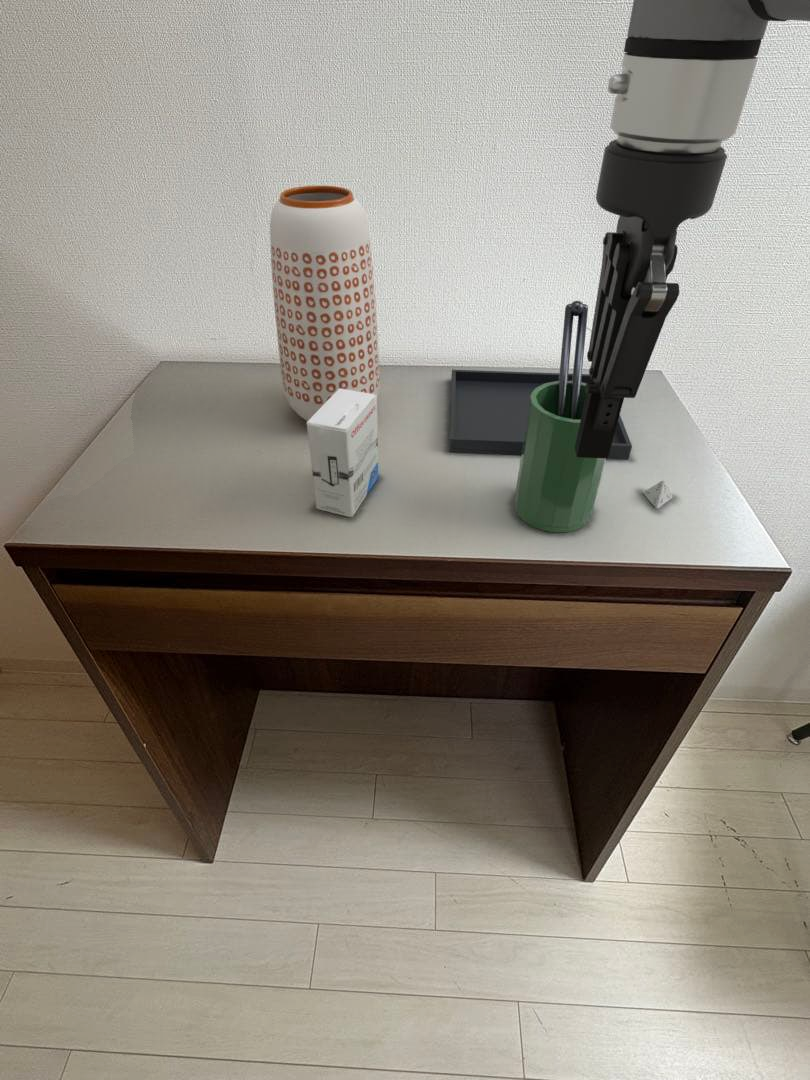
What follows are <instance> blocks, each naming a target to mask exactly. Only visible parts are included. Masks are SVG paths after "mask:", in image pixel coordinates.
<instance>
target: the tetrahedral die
mask: <svg viewBox="0 0 810 1080" xmlns="http://www.w3.org/2000/svg"><path fill="white" fill-rule="evenodd" d="M642 494H643V495H644V496H645V497H646V499H648V501H649V502H650V503H651V504H652V505H653V507H654V508H655V509H656V510H658V509H660V508H661V507H662V506H664V505H665V504H667V502H669V501H670V500H672V499H673V495H672V493H671V491H670V489H669V487H668V485H667V483H666V481H665V480H664V479H663V480H662V481H660V482H658V483H656V484H654V485H653V486H651V487H649V488H647V489H645V490H643V491H642Z"/></svg>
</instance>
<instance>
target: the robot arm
mask: <svg viewBox="0 0 810 1080" xmlns="http://www.w3.org/2000/svg"><path fill="white" fill-rule="evenodd" d="M788 21H801V22H802V21H803V22H810V0H633V1H632V7H631V12H630V19H629V24H628V29H627V35H626V38H625V42H624V47H623V48H624V49H623V53H624V54H623V58H622V62H621V73H618V74H613V75H611V77H610V78H609V79H608V85H607V91H608V92H609V94H612V95H616V96H615V98H614V102H613V103H614V104H613V107H612V108H613V109H612V114H611V119H610V124H609V128H610V129H611V130H612V132H613V133H614V134H615V135H617V137H616V139H614V140H611V141H610V142H609V143H608V145H607V146H605V147H604V151H603V156H602V161H601V168H600V172H599V178H598V182H597V188H596V194H595V201H596V203H597V205H598V206H599V207H600V208H601V209H603V210H604V211H606V212H608V213H610V214H613V215H616V216H619V217H618V220H617V224H616V231H615V232H614V231H613V232H612V231H607V232H605V234H604V237H603V239H602V245H603V247H602V248H603V249H602V257H601V258H602V259H601V268H600V274H599V281H598V288H597V294H596V301H595V306H594V314H593V320H592V326H591V332H590V337H589V340H590V341H589V345H588V351H587V352H586V358H587V362H589V363H590V362H591V364H590V367H589V370H588V374H590V378H591V379H594V381H593V382H586V393H587V394H586V399H585V403H584V408H583V412H582V417H581V421H580V426H579V430H578V435H577V439H576V444H575V452H576V456H577V457H582V458H606V460H607V459H609V458H608V456H609V453H610V449H611V445H612V441H613V438H614V434H615V430H616V426H617V423H618V419H619V415H620V416H621V411H622V408H623V403H624V400H625V399H635V398H636V396H637V394H638V391H639V388H640V386H641V383H642V380H643V379H644V376H645V372H646V370H647V368H648V365H649V362H650V360H651V357H652V355H653V352H654V349H655V347H656V344H657V342H658V339H659V337H660V334H661V331H662V329H663V326H664V324H665V322H666V319H667V317H668V315H669V313H670V312H671V310H672V308H673V307H674V305H675V304H676V302H677V300H678V298H679V296H680V284H679V283H678V282H667V278H668V276H669V274H671V273H672V271H673V270H674V267H675V263H676V260H677V255H678V245H677V244H676V241H677V235H678V228H679V226H680V225H681V224H682V223H683V222H685V221H688V220H689V219H690V220H695V219H698V218H700V217H701V218H702V216H705V215H706V214H708V212H710V210H711V209H712V207H713V204H714V201H715V198H716V195H717V191H718V187H719V184H720V182H721V179H722V178H721V177H722V175H723V171H724V168H725V165H726V162H727V158H728V155H727V153H726V149H725V148H724V147H722V143H723V142H725V141H728V140H729V139H730V138H731V137H732V136H734V135H735V134H736V132H737V129H738V126H739V122H740V119H741V115H742V112H743V108H744V106H745V104H746V103H745V102H746V100H747V96H748V93H749V89H750V86H751V82H752V79H753V76H754V72H755V69H756V67H757V62H758V59H759V57H758V55H759V51H760V47H761V44H762V41H763V39H764V38H765V37H764V36H765V34H766V31H767V27H768V24H769V22H788Z"/></svg>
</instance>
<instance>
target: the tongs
mask: <svg viewBox="0 0 810 1080" xmlns="http://www.w3.org/2000/svg"><path fill="white" fill-rule="evenodd" d="M588 313H589V305H588V304H587V303H583V302H582V301H581V300H574V301H572V302H571V303H567V304H566V305H565V308H564V318H563V320H564V321H563V329H562V341H561V352H560V362H559V373H560V374H559V385H558V396H557V408H556V415H557V416H560V417H564V415H565V404H566V393H567V382H568V374H569V370H570V369H569V368H570V359H571V347H572V337H573V328H574V327H573V326H574V317H577V326H576V338H575V346H574V347H575V348H574V357H573V358H574V359H573V370H572V374H573V379H572V390H571V400H570V411H569V419H573V420H577V418H578V408H579V397H580V387H581V377H582V374H583V365H584V356H585V355H584V354H585V346H586V345H585V344H586V336H587V324H588V316H589V315H588Z"/></svg>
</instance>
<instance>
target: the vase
mask: <svg viewBox="0 0 810 1080" xmlns="http://www.w3.org/2000/svg"><path fill="white" fill-rule="evenodd" d="M364 210H365V209H364V207H363V206H362V204H361V203H360V201H359V200H358V199H357V198H356V197H355V196H354V193H353V192H352V191H351V190H350V189H348V188H345V187H341V186H334V185H304V186H296V187H292V188H288V189H285V190H283V191H282V192H281V193H280V195H279V198H278V200H277V201H276V202H275V203H274V205H273V207H272V210H271V214H270V221H269V237H270V238H269V240H270V241H269V243H270V264H271V279H272V281H271V282H272V289H273V290H272V294H273V304H274V307H273V308H274V315H275V316H274V317H275V326H276V337H277V346H278V355H279V364H280V373H281V374H280V375H281V381H282V388H283V392H284V395H285V398H286V400H287V402H288V403H289V406H290V407H291V408H292V410H294V412H295V413H296V414H297V415H298V416H299V417H300V418H302V419H303V420H305V422H307V421H308V420H309V419H310V418H311V417H312V416H313V415H314V414H315V413H316V412H317V411H318V410H319V409H320V408H321V407H322V406H323V405H324V404H325V403H326V402H327V401H328V400H329V399H330V398H331V397H332V395H333V394H334V393H335V392H336V391H337V390H338V389H340V388H342V389H348V390H354V391H359V392H365V393H370V394H376V395H377V396H378V395H379V390H380V381H381V375H380V355H379V354H380V353H379V337H378V336H379V335H378V323H377V322H378V320H377V319H378V318H377V305H376V304H377V303H376V293H375V278H374V268H373V267H374V266H373V259H372V258H373V257H372V250H371V242H370V235H369V234H370V233H369V228H368V227H369V226H368V222H367V217H366V213H365V211H364Z"/></svg>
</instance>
